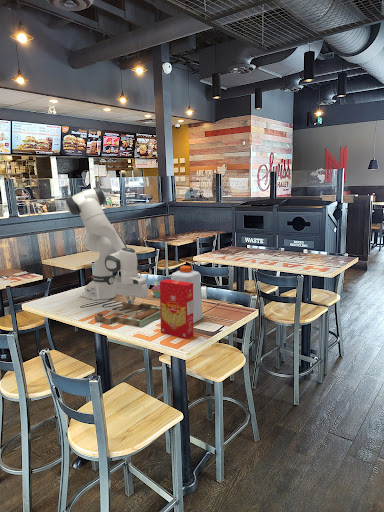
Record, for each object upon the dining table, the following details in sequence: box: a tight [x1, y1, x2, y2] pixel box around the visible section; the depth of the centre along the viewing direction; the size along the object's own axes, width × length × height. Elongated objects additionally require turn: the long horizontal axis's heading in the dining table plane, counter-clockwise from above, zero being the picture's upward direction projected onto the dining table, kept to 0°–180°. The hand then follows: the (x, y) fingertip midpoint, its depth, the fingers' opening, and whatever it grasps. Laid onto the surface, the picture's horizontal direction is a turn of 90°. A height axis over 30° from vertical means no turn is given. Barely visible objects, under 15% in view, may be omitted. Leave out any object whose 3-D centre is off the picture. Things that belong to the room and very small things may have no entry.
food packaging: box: [159, 278, 194, 340], centre depth 178 cm, size 15×5×25 cm, turn 58°
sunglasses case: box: [131, 310, 158, 320], centre depth 201 cm, size 18×7×7 cm
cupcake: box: [150, 277, 160, 298], centre depth 242 cm, size 9×8×12 cm
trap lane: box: [94, 302, 161, 328], centre depth 204 cm, size 28×30×3 cm
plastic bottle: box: [170, 265, 204, 325], centre depth 198 cm, size 15×15×28 cm
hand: (130, 303), depth 206 cm, fingers closed
